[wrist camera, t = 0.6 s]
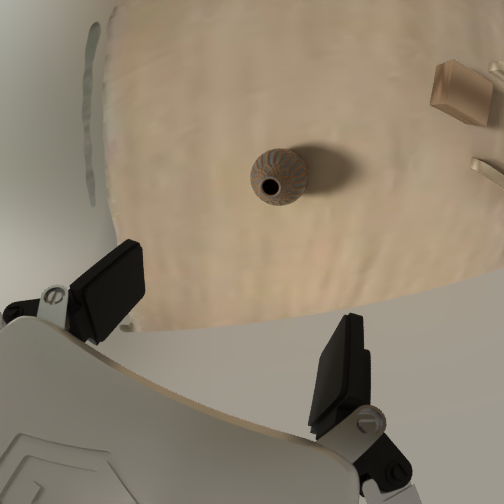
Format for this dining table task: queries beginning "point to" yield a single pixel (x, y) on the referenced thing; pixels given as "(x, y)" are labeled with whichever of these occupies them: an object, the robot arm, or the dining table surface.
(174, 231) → the dining table surface
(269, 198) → the vase
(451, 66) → the walnut block
